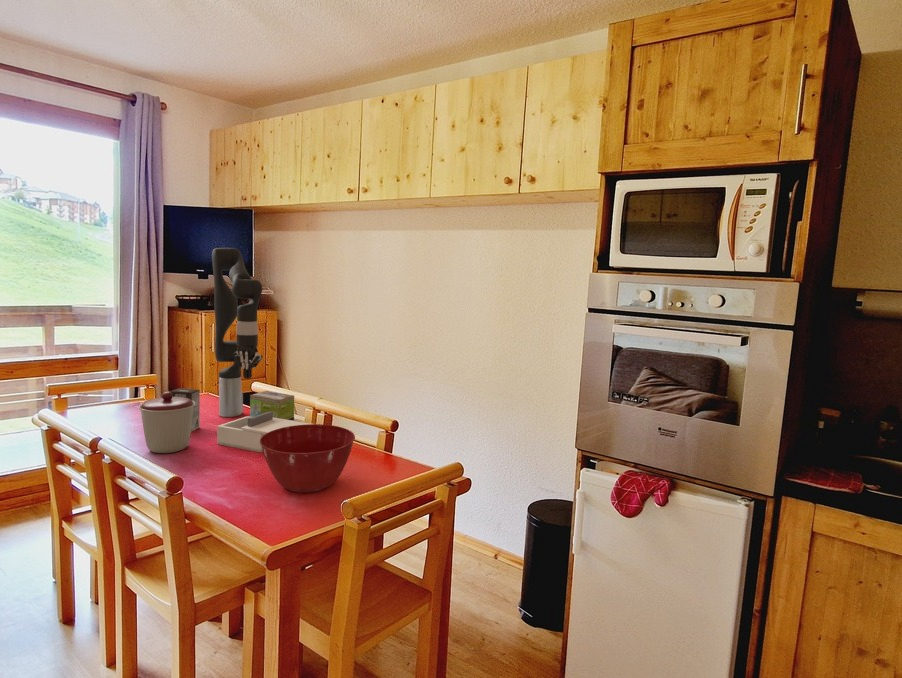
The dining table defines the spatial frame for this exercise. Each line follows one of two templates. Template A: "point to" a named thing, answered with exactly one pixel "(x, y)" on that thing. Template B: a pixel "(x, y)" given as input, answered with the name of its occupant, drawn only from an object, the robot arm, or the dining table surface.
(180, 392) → the coffee box
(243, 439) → the box
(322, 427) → the mixing bowl
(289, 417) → the tea box
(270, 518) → the dining table surface
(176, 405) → the canister
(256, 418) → the lid
